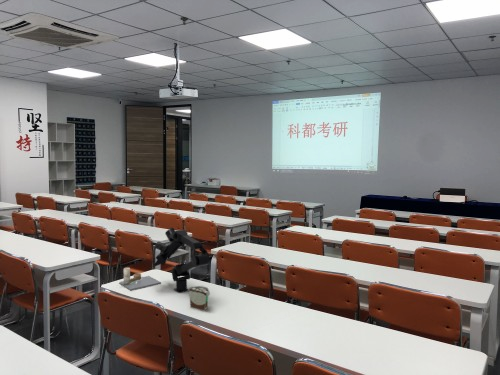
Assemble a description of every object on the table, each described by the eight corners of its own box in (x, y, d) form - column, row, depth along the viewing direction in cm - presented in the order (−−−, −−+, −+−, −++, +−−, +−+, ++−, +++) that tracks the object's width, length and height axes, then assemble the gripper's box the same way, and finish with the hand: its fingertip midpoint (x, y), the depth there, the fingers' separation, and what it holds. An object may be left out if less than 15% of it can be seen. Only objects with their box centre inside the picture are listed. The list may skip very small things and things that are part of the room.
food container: (214, 307, 196) (214, 288, 195) (207, 312, 191) (207, 292, 190) (196, 302, 202) (196, 284, 201) (188, 306, 197) (188, 287, 196)
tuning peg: (136, 277, 238) (136, 263, 238) (142, 278, 236) (142, 264, 236) (121, 283, 226) (121, 268, 226) (127, 284, 225) (127, 269, 224)
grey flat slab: (160, 283, 231) (160, 282, 231) (130, 290, 219) (130, 289, 218) (148, 277, 243) (148, 275, 243) (119, 283, 231) (119, 281, 231)
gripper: (167, 234, 232) (149, 251, 233) (159, 241, 213) (139, 260, 215) (180, 247, 233) (162, 264, 234) (173, 255, 214) (153, 274, 215)
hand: (154, 265), depth 224 cm, fingers closed
